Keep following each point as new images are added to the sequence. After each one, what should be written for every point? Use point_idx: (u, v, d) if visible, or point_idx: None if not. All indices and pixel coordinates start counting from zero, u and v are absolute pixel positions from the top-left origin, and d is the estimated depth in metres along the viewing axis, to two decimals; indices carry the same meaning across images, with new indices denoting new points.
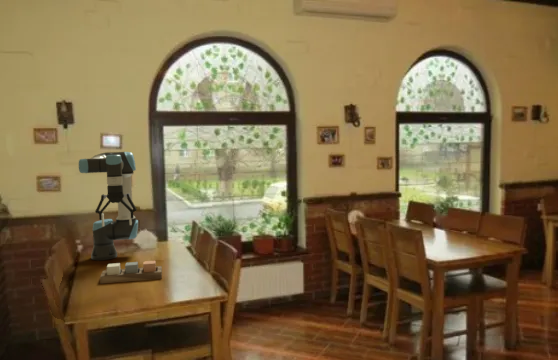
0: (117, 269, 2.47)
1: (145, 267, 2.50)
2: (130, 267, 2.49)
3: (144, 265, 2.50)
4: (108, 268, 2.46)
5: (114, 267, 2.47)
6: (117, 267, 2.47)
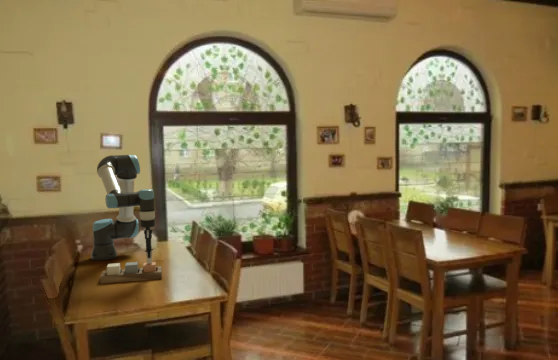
0: (117, 269, 2.47)
1: (145, 268, 2.50)
2: (130, 267, 2.49)
3: (144, 266, 2.50)
4: (108, 268, 2.46)
5: (114, 267, 2.47)
6: (117, 267, 2.47)
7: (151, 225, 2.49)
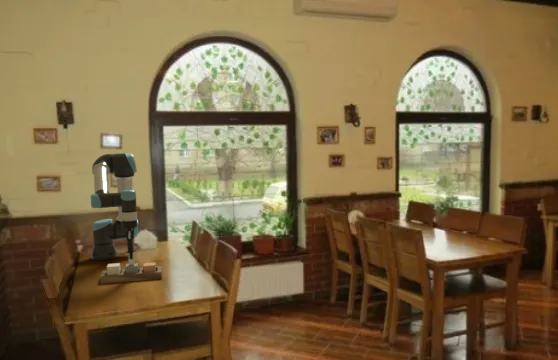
0: (117, 269, 2.47)
1: (145, 269, 2.50)
2: (130, 268, 2.49)
3: (144, 267, 2.50)
4: (108, 268, 2.46)
5: (114, 267, 2.47)
6: (117, 267, 2.47)
7: (133, 226, 2.47)
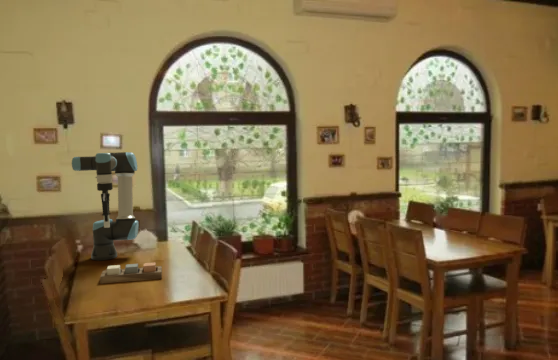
0: (117, 271, 2.47)
1: (145, 269, 2.50)
2: (130, 269, 2.49)
3: (144, 267, 2.50)
4: (108, 270, 2.46)
5: (114, 269, 2.47)
6: (117, 269, 2.47)
7: (108, 188, 2.48)
